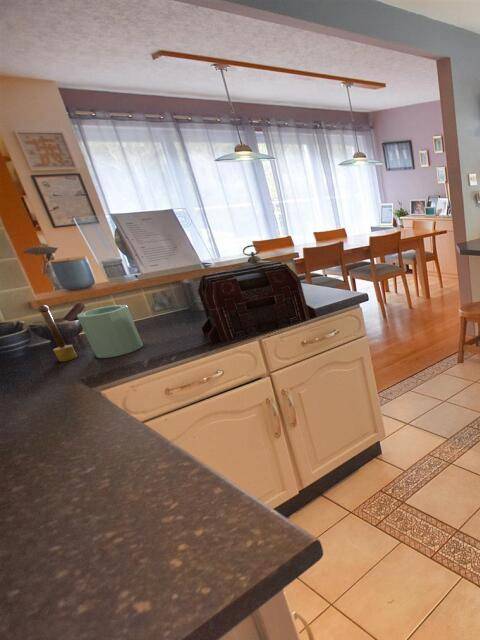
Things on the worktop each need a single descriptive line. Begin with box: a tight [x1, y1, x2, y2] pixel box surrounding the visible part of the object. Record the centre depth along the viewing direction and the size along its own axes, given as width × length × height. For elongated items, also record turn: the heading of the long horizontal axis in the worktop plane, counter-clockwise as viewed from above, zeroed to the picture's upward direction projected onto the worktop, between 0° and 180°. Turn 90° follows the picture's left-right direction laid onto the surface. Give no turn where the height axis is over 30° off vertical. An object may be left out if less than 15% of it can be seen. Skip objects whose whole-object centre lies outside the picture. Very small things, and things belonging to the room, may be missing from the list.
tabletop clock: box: [236, 244, 274, 270], centre depth 185 cm, size 14×9×25 cm, turn 147°
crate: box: [197, 261, 317, 344], centre depth 157 cm, size 35×19×21 cm, turn 133°
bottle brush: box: [37, 304, 78, 362], centre depth 137 cm, size 4×4×18 cm
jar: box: [76, 304, 144, 359], centre depth 142 cm, size 12×12×14 cm
